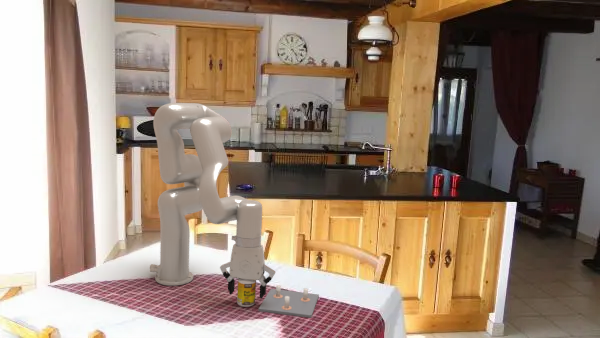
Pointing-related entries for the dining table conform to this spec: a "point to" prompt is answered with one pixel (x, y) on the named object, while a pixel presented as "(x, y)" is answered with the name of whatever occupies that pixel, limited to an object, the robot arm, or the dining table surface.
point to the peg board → (289, 302)
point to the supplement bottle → (246, 292)
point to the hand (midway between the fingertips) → (246, 294)
